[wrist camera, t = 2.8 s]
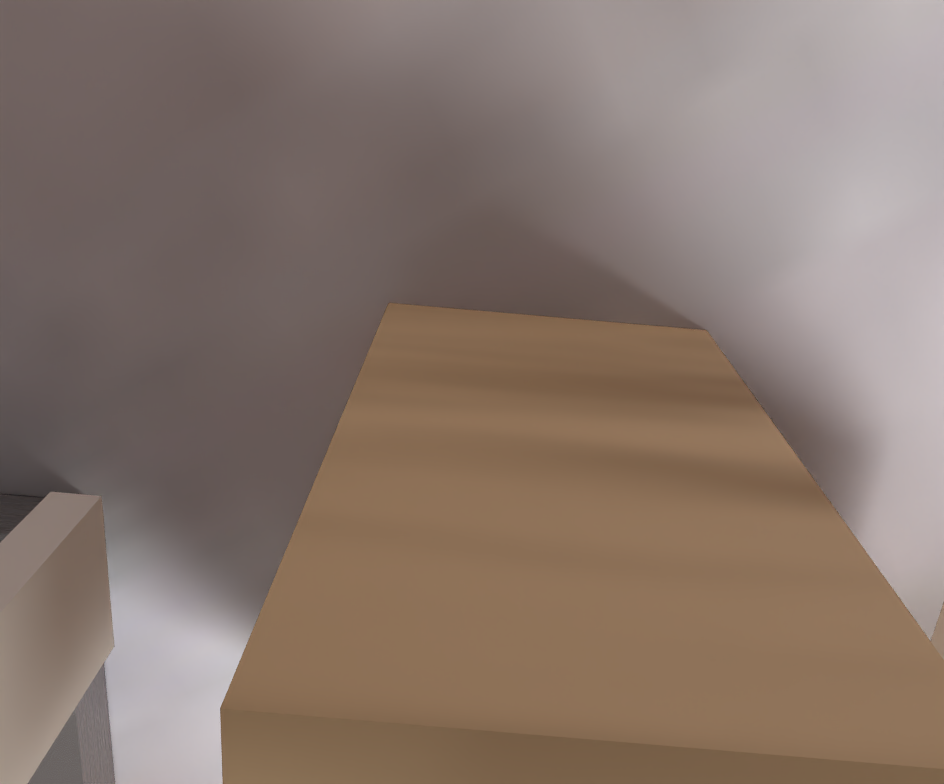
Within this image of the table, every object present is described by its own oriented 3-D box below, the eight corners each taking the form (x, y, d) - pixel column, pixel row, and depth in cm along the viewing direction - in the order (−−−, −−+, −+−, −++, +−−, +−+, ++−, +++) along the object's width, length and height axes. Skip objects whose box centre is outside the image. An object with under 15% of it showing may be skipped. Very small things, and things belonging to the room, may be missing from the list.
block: (389, 302, 14) (221, 709, 5) (706, 329, 14) (1027, 775, 5) (369, 706, 17) (241, 1368, 8) (630, 727, 17) (763, 1412, 8)
